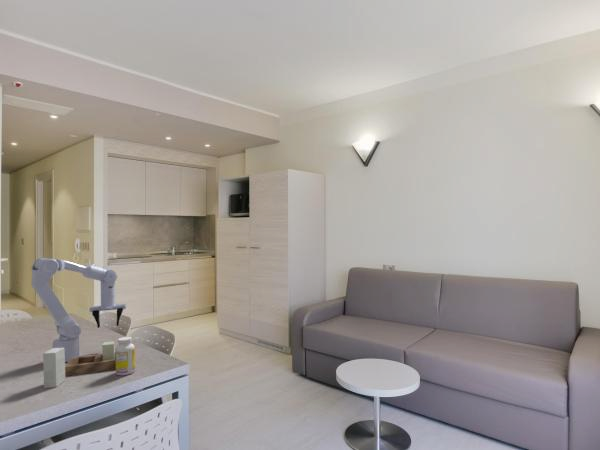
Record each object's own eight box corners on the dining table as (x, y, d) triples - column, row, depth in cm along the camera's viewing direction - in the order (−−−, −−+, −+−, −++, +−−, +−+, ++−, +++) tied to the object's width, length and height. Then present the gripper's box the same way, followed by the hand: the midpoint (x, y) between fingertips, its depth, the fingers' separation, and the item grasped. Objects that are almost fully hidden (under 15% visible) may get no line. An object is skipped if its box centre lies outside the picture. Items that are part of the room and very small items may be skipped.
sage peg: (102, 365, 149) (102, 345, 149) (103, 362, 153) (103, 342, 153) (114, 364, 151) (113, 343, 151) (114, 361, 154) (114, 341, 154)
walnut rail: (65, 375, 141) (65, 366, 141) (70, 366, 151) (70, 357, 151) (124, 367, 149) (124, 359, 149) (126, 358, 159) (126, 350, 159)
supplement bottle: (129, 368, 148) (129, 334, 148) (138, 371, 144) (138, 337, 144) (112, 373, 143) (111, 339, 143) (120, 377, 139) (120, 342, 139)
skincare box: (53, 381, 136) (52, 347, 136) (65, 380, 137) (65, 347, 137) (43, 388, 130) (42, 353, 130) (56, 387, 131) (55, 352, 131)
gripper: (88, 299, 166) (88, 330, 166) (125, 296, 171) (125, 326, 171) (90, 296, 172) (90, 326, 172) (125, 293, 178) (126, 323, 178)
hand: (108, 326), depth 172 cm, fingers open, 7 cm apart
